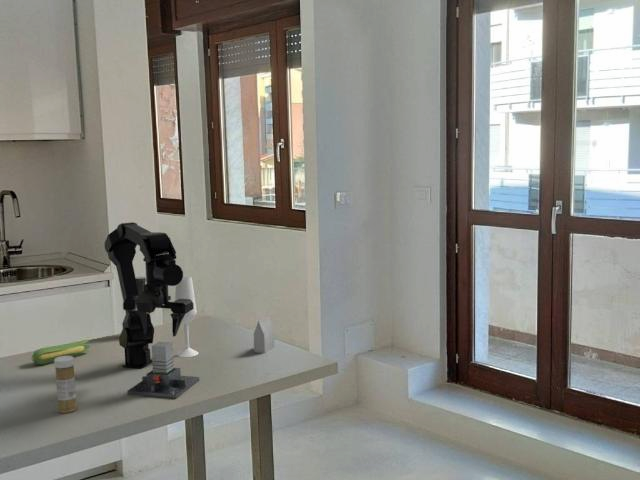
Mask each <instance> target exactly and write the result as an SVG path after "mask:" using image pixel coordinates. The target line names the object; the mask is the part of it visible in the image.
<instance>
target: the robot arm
mask: <svg viewBox="0 0 640 480" xmlns="http://www.w3.org/2000/svg"><path fill="white" fill-rule="evenodd" d="M137 246H139V251H140V252H141V253H142V255H143V260H142V261H143V262H145V278H146V282H145V285H144V290H143V293H142V294H140V295H139V292H138V287H137V282H136V277H137V276H136V274H135V269H134V264H133V261H134V259H135V256H136V253H137V251H136V248H137ZM104 250H105V252H106V253H107V256H108V259H109V260H110V262H112V264H113V265H114V266H115V268H116V271H117V272H116V273H117V276H118V282H119V287H120V291H121V296H122V301H123V302H122V309H123V311H125V316H124V319H123V321H122V324H121V325H122V329H121V332H120V335H119V336H118V343H119V346H120V347H122V348H124V364H122V367H123V368H131V369H132V368H133V369H134V368H135V369H143V368H145V367H147V366H148V365H149V364H151V363H153V362H152V357H151V349H150V348H149V345H150V344H153V343H154V335H155V328H154V327H155V326H154V325H153V323H152V319H151V318H152V316H151V317H150V315H149V314H148V313H150V314H152V313H154V312H155V310H156V309H170V311H171V312H172V313H171V314H170V317H171V318H172V319H171V321H172V324H171V325H172V328H171V329H172V337H176V336H177V335H178V331H179V330H180V329H179V328H180V326H181V324H182V322H181V321H182V319H183V317H184V315H185V314H186V313H188V312H189V311H191V310H193V309H194V307H193V302H192V300H191V299H178V300H176V301H175V300H174V301H171V300H172V297H171V295H169V286H170V287H174V286H175V287H176V285H177V284H179V283H180V282H181V280H182V278H183V276H184V271H183V269H182V267H181V266H180V265H178V264H176V262H177V261H176V259H177V255H176V254H177V251H176V249H175V247H174V244H173V243H172V241H171V238H170V236H169V234H167V233H165V232H158V231H157V232H156V231H155V232H151V231H150V230H147V229H146V228H143V227H142V226H140V225H138V223H136V222H134V221H133V222H123V223H120V224H118V225H117V227H116V228H115V229H114V230H113V231H112V232H110V233H108V235H107V237H106V239H105V241H104Z"/></svg>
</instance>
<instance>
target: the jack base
mask: <svg viewBox="0 0 640 480" xmlns="http://www.w3.org/2000/svg"><path fill="white" fill-rule="evenodd" d="M198 382H200V376H192V375H191V376H190V375H189V376H188V375H181V368H180V367H174V371H172V372H171V373H170V374H168V375H163V374H153V369H152V370H151V371H149V372H148V373H146V375H143V376H141V381H140V382H138V383H136V385H133V386H132V387H130V388H129V389H127V393H126V394H127V395H129V396H139V395H140V396H141V395H142V396H141V397H151V396H152V398H153V397H154V398H163V397H164V398H165V397H166V399H178V398H179V397H181V396H182V395H183V394H184V393H185V392H187V391H188V390H189V389H190V388H192V387H193V386H194V385H196V384H198Z"/></svg>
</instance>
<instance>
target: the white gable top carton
mask: <svg viewBox="0 0 640 480" xmlns="http://www.w3.org/2000/svg"><path fill="white" fill-rule="evenodd" d="M274 348H275V329H274V326H273V324H272V322H271V319H270V317H269V316H264V318H261V319H259V320H258V321H257V324H256V326H255V329H254V331H253V352H254V353H261V354H266V353H268V352H269V351H271V350H272V349H274Z"/></svg>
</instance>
